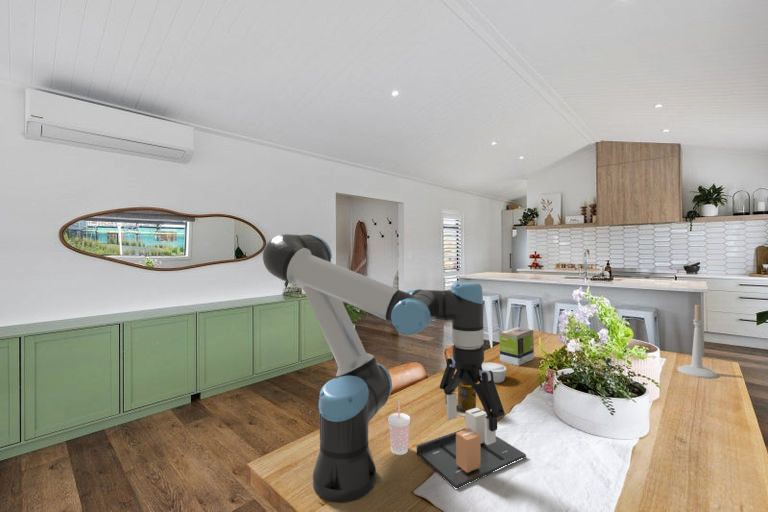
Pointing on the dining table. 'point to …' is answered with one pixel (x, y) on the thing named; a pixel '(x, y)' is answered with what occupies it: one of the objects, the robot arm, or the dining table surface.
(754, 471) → the dining table surface
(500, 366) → the ramekin
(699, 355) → the candlestick
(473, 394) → the condiment
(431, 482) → the dining table surface
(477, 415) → the fader ivory
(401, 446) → the beverage cup
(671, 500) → the dining table surface
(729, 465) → the dining table surface
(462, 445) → the fader terracotta
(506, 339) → the tea box
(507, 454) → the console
